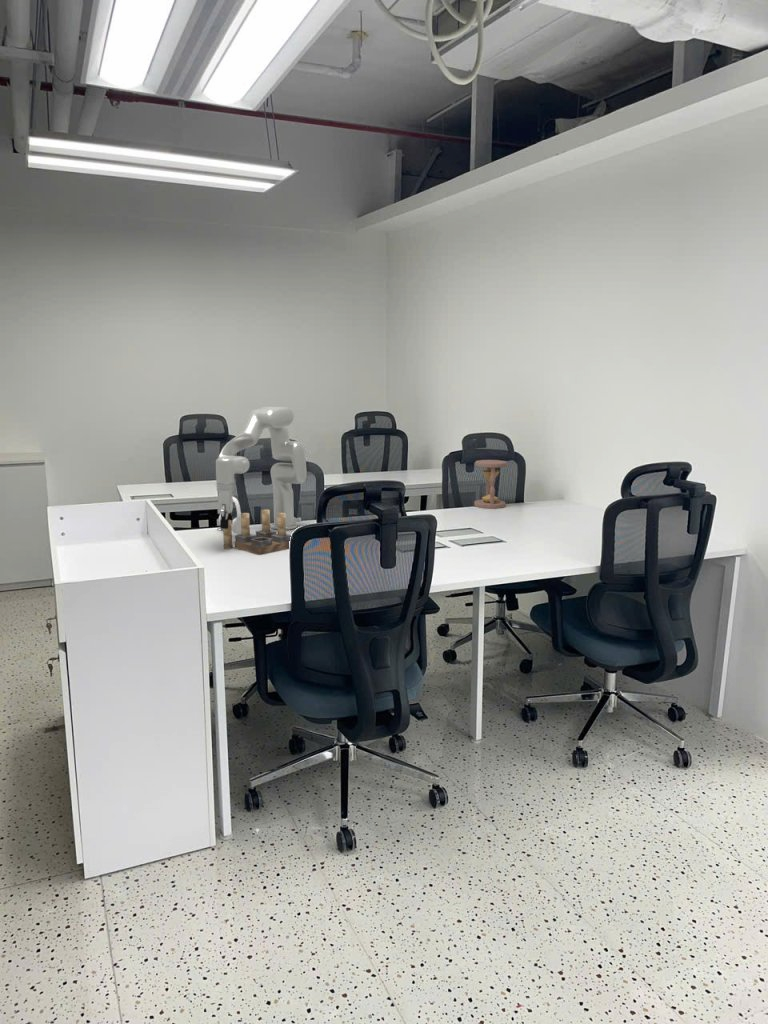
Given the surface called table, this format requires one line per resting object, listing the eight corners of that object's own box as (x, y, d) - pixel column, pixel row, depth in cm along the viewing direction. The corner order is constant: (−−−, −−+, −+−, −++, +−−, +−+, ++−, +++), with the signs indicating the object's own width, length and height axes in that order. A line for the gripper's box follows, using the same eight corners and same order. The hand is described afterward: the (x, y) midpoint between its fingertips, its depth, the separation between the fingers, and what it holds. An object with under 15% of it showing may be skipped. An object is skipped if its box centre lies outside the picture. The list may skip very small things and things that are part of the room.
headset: (247, 536, 348) (245, 498, 344) (232, 538, 344) (231, 499, 340) (230, 528, 364) (228, 492, 361) (216, 530, 360) (214, 493, 357)
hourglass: (505, 509, 414) (506, 464, 409) (473, 508, 417) (474, 463, 412) (505, 503, 431) (507, 460, 426) (475, 502, 434) (476, 459, 429)
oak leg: (229, 546, 328) (228, 519, 326) (234, 547, 326) (233, 520, 323) (222, 547, 326) (221, 520, 323) (227, 549, 323) (225, 521, 321)
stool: (267, 540, 338) (266, 508, 336) (293, 547, 326) (292, 513, 323) (234, 547, 326) (233, 513, 323) (260, 554, 314) (259, 519, 311)
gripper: (220, 484, 329) (221, 522, 332) (212, 489, 312) (213, 530, 315) (237, 484, 329) (238, 522, 332) (230, 489, 312) (231, 530, 315)
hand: (226, 526), depth 323 cm, fingers open, 9 cm apart
